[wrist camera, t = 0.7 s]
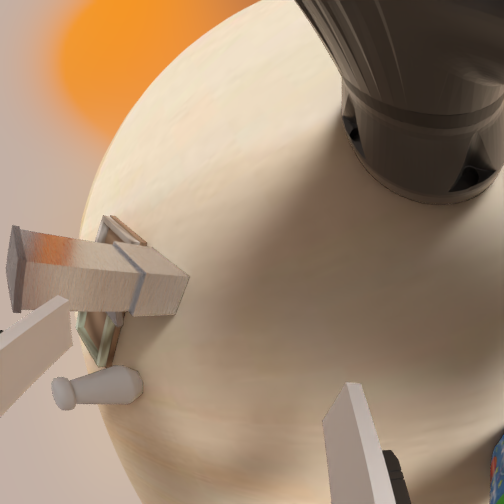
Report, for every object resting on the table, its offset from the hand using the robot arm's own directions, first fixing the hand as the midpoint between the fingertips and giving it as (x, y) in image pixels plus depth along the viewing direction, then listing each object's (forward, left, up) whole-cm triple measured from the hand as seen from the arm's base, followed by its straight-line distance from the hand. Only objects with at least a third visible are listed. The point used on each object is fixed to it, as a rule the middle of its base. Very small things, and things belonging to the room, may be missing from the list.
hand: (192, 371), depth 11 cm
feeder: (+6, -19, -14) cm, 24 cm away
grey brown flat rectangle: (+13, -30, -14) cm, 35 cm away
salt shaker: (+21, -18, -14) cm, 31 cm away
